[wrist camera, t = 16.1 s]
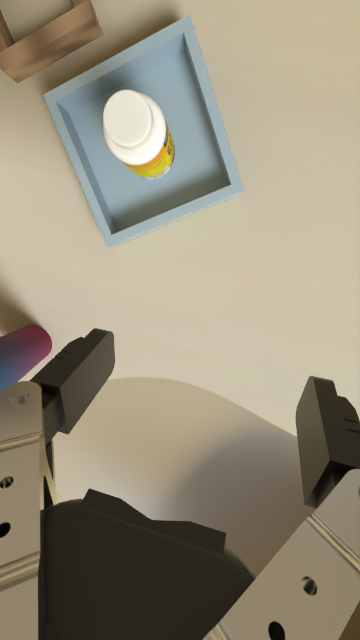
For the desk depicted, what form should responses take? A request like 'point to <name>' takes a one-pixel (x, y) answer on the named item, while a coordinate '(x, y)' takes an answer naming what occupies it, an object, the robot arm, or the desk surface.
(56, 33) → the holder
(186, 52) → the tray
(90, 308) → the desk surface
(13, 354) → the cup
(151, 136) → the supplement bottle
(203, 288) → the desk surface
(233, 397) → the desk surface
